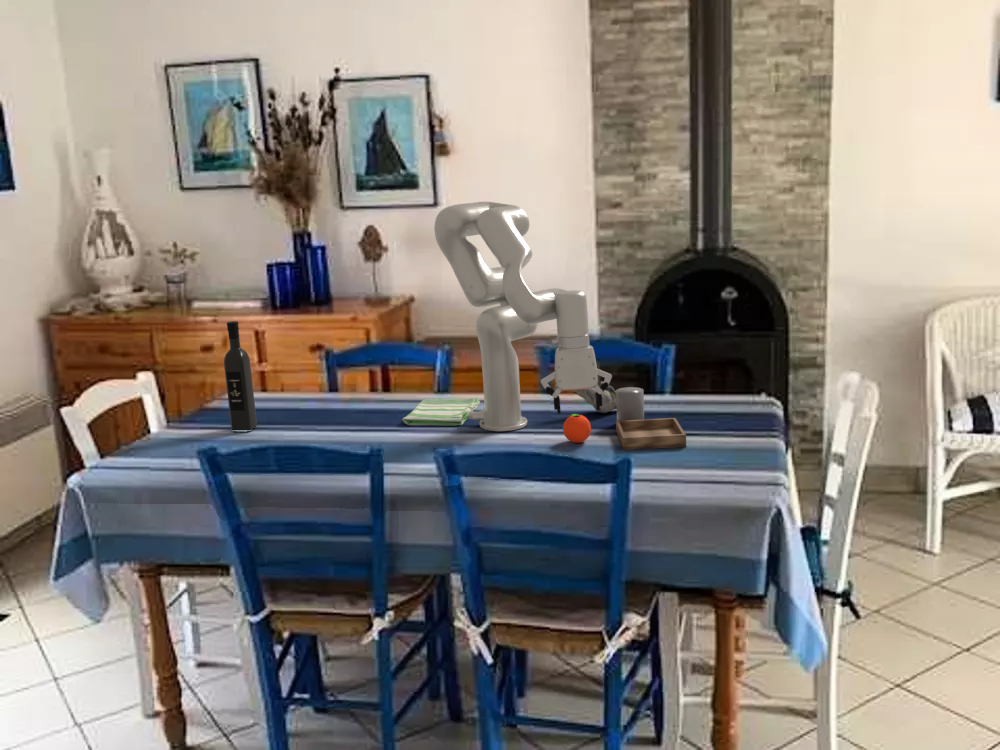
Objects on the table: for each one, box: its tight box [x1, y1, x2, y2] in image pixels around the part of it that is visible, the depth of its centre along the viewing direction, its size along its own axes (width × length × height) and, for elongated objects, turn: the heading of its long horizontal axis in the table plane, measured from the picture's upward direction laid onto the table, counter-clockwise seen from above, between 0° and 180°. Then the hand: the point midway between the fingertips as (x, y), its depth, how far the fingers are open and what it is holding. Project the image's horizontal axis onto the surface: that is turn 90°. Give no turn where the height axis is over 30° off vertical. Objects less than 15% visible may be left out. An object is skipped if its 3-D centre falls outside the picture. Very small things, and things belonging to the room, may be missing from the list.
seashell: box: [572, 380, 617, 414], centre depth 279 cm, size 10×17×10 cm, turn 80°
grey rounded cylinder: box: [615, 386, 645, 421], centre depth 265 cm, size 7×7×9 cm
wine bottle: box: [223, 320, 258, 431], centre depth 278 cm, size 6×6×30 cm
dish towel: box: [402, 397, 481, 427], centre depth 286 cm, size 18×23×3 cm
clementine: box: [562, 413, 592, 444], centre depth 253 cm, size 8×7×7 cm
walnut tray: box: [615, 417, 687, 451], centre depth 252 cm, size 15×15×3 cm
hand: (578, 410), depth 251 cm, fingers open, 9 cm apart
